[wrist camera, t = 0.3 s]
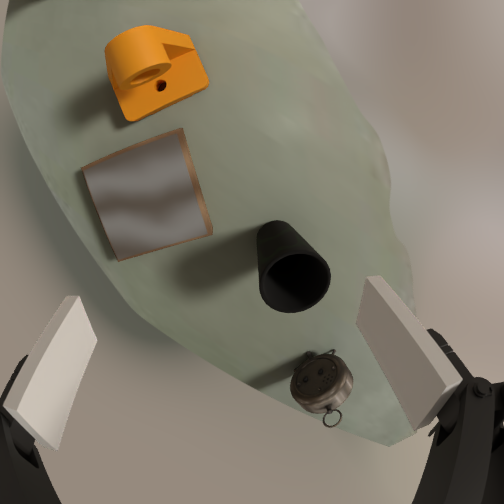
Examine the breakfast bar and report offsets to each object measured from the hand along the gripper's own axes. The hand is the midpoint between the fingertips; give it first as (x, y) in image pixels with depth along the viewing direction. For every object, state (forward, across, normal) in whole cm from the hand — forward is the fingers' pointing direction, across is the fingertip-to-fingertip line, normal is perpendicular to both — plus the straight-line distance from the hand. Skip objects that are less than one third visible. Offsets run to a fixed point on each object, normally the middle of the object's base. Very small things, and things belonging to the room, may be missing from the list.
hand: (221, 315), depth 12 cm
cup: (+27, +7, -8) cm, 29 cm away
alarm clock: (+26, +15, -33) cm, 45 cm away
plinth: (+26, -10, -1) cm, 28 cm away
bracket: (+27, -7, +14) cm, 31 cm away
